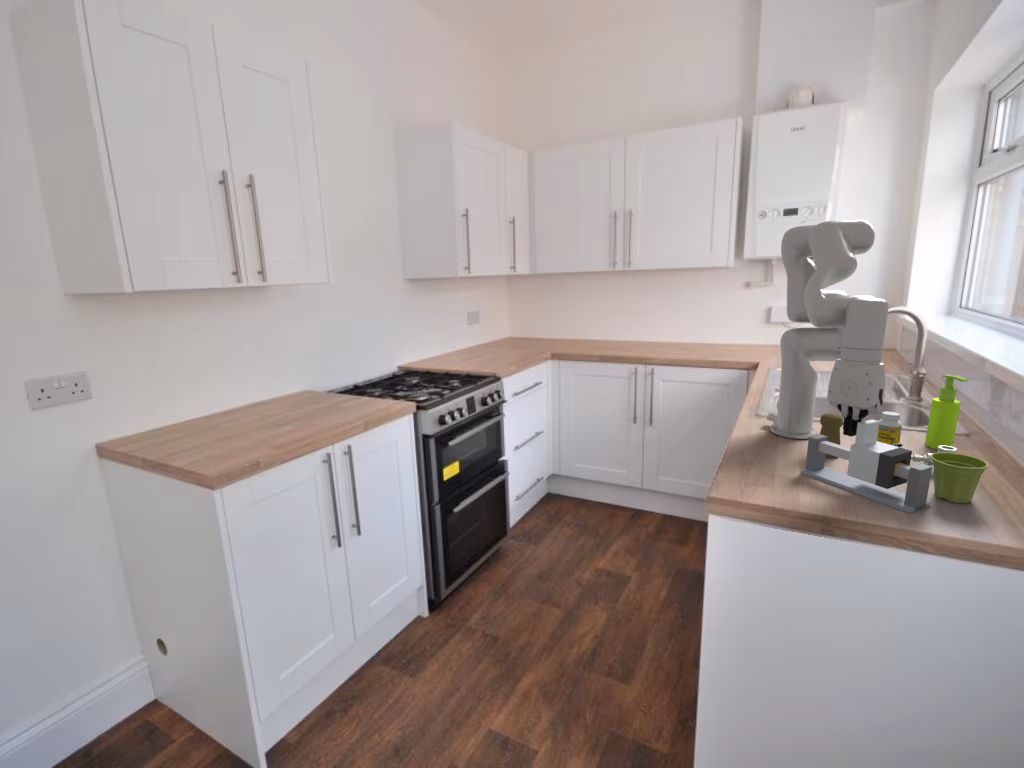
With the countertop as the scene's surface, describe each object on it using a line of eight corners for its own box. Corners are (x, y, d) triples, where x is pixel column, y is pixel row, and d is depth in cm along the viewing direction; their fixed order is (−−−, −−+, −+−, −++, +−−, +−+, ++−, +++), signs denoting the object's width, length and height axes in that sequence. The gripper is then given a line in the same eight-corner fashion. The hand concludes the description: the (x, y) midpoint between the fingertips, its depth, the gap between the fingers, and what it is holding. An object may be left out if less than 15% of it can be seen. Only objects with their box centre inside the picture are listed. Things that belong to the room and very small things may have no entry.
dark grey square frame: (875, 484, 110) (879, 453, 109) (895, 478, 113) (899, 447, 111) (887, 489, 108) (891, 456, 106) (907, 482, 111) (912, 450, 109)
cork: (833, 459, 133) (838, 419, 131) (809, 453, 138) (814, 413, 136) (845, 455, 136) (850, 415, 134) (822, 448, 142) (826, 410, 139)
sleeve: (847, 475, 115) (853, 423, 113) (866, 469, 118) (873, 418, 116) (875, 484, 110) (882, 430, 107) (895, 478, 113) (903, 425, 110)
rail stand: (800, 472, 126) (804, 437, 124) (819, 467, 129) (823, 433, 127) (910, 513, 105) (916, 471, 103) (929, 505, 107) (936, 465, 106)
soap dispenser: (944, 452, 137) (957, 378, 132) (919, 444, 143) (930, 373, 139) (962, 450, 138) (975, 377, 133) (936, 442, 144) (948, 372, 140)
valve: (949, 470, 126) (889, 463, 130) (953, 444, 124) (893, 439, 129) (959, 480, 120) (897, 473, 124) (964, 453, 118) (901, 447, 123)
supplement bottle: (900, 446, 142) (905, 412, 140) (896, 451, 138) (902, 417, 136) (876, 442, 145) (881, 409, 143) (872, 447, 142) (877, 413, 140)
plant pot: (934, 504, 108) (940, 465, 106) (917, 486, 117) (923, 450, 115) (990, 510, 105) (998, 470, 103) (968, 491, 114) (975, 454, 112)
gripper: (817, 352, 118) (809, 428, 122) (887, 362, 105) (875, 447, 109) (838, 349, 121) (829, 424, 125) (908, 358, 108) (896, 441, 112)
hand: (850, 434), depth 117 cm, fingers closed
